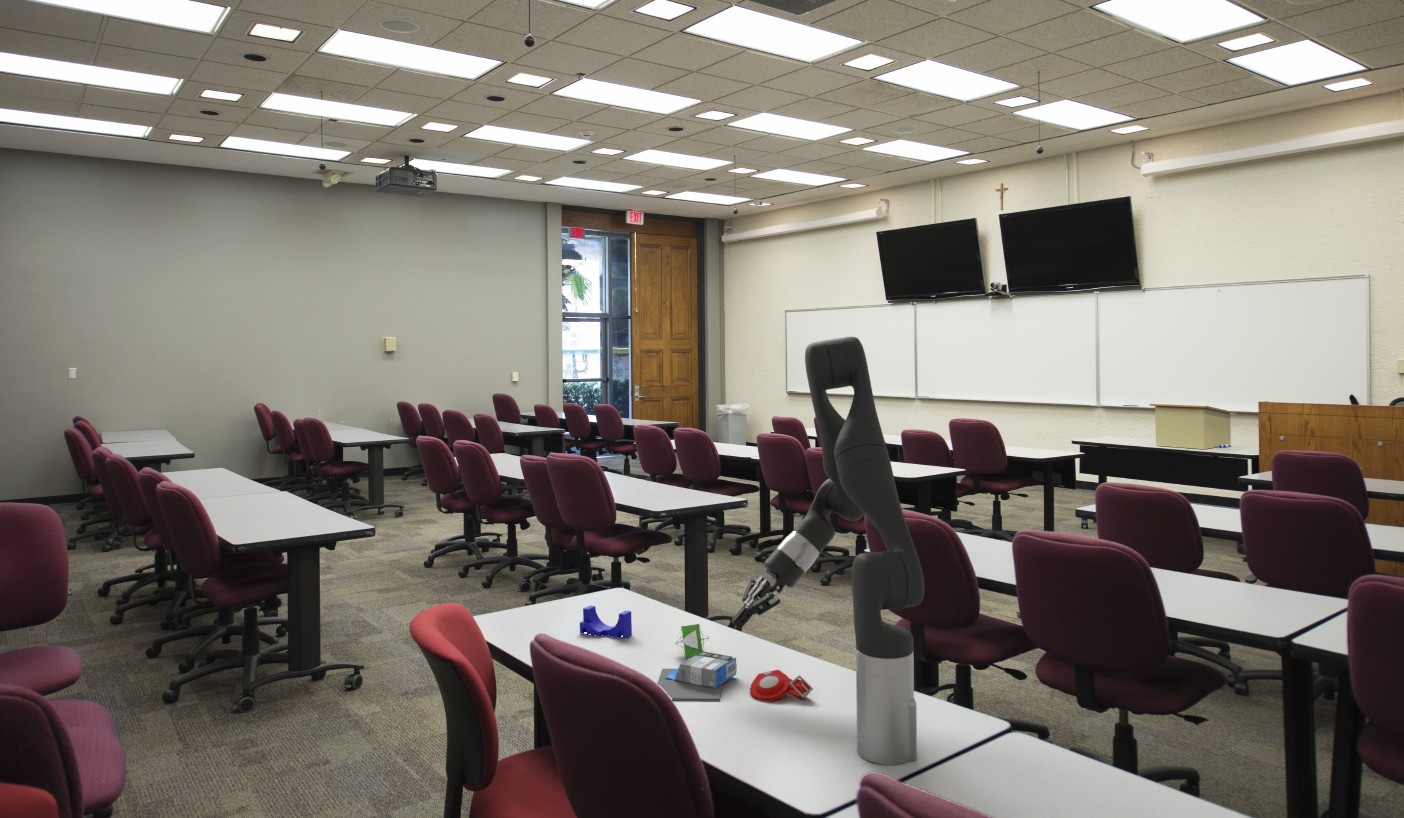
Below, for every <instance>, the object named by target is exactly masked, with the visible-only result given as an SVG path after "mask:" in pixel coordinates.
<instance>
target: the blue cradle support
mask: <svg viewBox="0 0 1404 818" xmlns="http://www.w3.org/2000/svg"><path fill="white" fill-rule="evenodd" d="M582 615H583V616H582V618H583V619H582V621H580V622H579V634H580V633H584V632H587V634H591V635H596V636H602V635H604V636H605V635H609V636H608V637H611V636H613V637H612V638H617V637H621V636H622V635H623V637H622V638H621V639H623V638H626V639H627V638H630V637H631V636H632V635H633V626H632V625H633V624H632V611H631V610H624V611H622V612H620V613H618V619H617V623H616V624H615V625H614V626H611V625H608V624H606V623H604V622H603V621H602V620H601V619H600V617H599V616H598V613H597V609H596V605H588V606H586V607H584V608H583V609H582ZM630 635H631V636H630ZM596 636H595V637H596ZM602 637H603V636H602Z"/></svg>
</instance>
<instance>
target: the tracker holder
mask: <svg viewBox="0 0 1404 818" xmlns="http://www.w3.org/2000/svg"><path fill="white" fill-rule="evenodd" d="M813 690H814V687H812V686H811V685H810V684H809V683H808V682H807V681H806V680H805V678H803V677H802V676H801V675H800V674H799V675H798V676H796V677H795V678H794V679H791V677H789V676H788V675H787V674H786V673H784V671H783V672H782V671H781V670H780V669H774V670H767V671H765V672H760V673H758V674H757V675H756V676H755V677H754V679H753V680H752V683H751V685H750V687H749V695H750V696H751V697H752V698H753V699H755V700H758V701H760V702H761V701H763V702H773V701H777V700H780V699H781V698H783V697H784V696H786V695H787V694H789V695H791V696H792V697H795V698H797V699H801V700H802V699H804V698H805V697H807V696H808V695H810V693H811V692H812V691H813Z"/></svg>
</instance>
